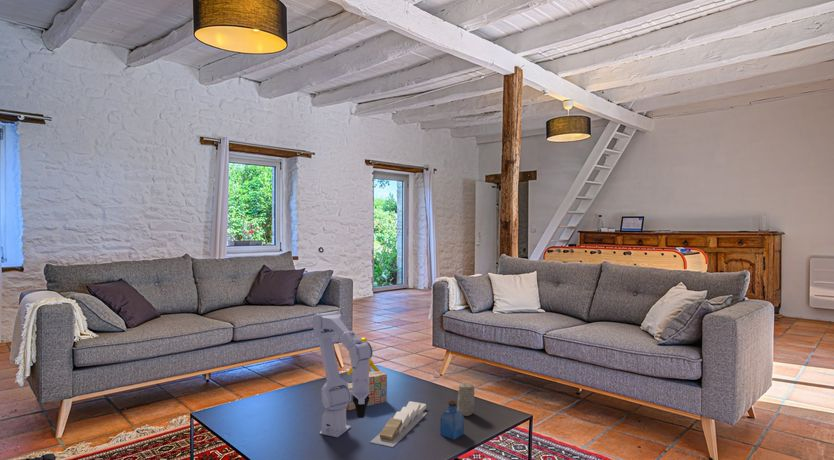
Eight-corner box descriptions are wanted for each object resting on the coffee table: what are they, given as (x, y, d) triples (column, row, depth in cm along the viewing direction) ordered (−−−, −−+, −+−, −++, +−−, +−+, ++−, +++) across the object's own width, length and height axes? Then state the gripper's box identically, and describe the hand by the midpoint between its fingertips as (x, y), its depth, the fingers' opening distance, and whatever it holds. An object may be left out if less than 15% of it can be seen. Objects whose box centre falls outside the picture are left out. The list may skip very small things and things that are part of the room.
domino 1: (399, 429, 175) (408, 413, 183) (387, 427, 177) (397, 411, 185) (399, 433, 176) (409, 417, 184) (388, 431, 178) (397, 415, 186)
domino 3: (411, 417, 186) (420, 402, 194) (400, 415, 188) (409, 401, 196) (412, 421, 187) (420, 406, 194) (401, 419, 188) (409, 404, 196)
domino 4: (417, 411, 191) (426, 404, 200) (406, 410, 193) (415, 402, 202) (417, 416, 192) (426, 408, 200) (406, 414, 193) (415, 406, 202)
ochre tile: (391, 436, 170) (401, 419, 178) (379, 434, 172) (390, 417, 179) (392, 440, 170) (402, 423, 178) (380, 438, 172) (390, 421, 180)
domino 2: (405, 423, 180) (414, 408, 188) (393, 421, 182) (403, 406, 190) (405, 427, 181) (414, 412, 189) (394, 425, 183) (403, 410, 191)
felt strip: (392, 447, 166) (392, 446, 166) (370, 442, 169) (370, 441, 169) (427, 413, 195) (427, 412, 195) (407, 409, 199) (407, 409, 199)
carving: (466, 418, 190) (467, 388, 190) (453, 412, 196) (453, 383, 196) (477, 414, 194) (478, 385, 194) (464, 408, 200) (464, 380, 200)
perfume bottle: (450, 429, 181) (450, 397, 181) (463, 433, 177) (464, 401, 177) (440, 434, 176) (440, 402, 176) (454, 439, 172) (454, 406, 172)
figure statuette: (383, 379, 236) (383, 335, 236) (380, 385, 229) (380, 339, 228) (347, 378, 238) (347, 334, 237) (344, 384, 230) (344, 338, 230)
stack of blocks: (341, 412, 197) (341, 382, 196) (335, 407, 202) (335, 378, 202) (387, 401, 208) (387, 373, 208) (380, 397, 213) (380, 369, 213)
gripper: (348, 372, 172) (348, 409, 173) (349, 385, 158) (349, 426, 158) (368, 371, 174) (368, 408, 174) (370, 384, 159) (370, 425, 159)
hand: (360, 417), depth 166 cm, fingers closed
